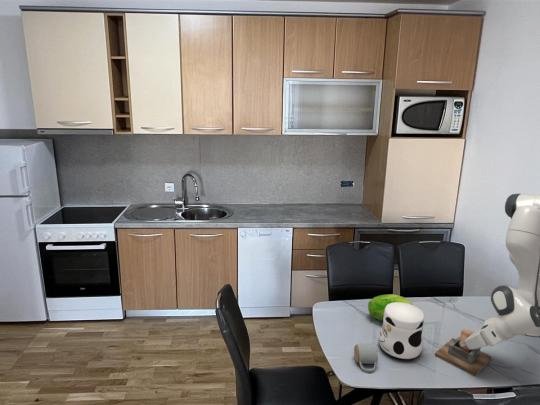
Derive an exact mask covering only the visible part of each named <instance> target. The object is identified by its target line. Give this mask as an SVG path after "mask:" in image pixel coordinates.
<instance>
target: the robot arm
mask: <svg viewBox="0 0 540 405" xmlns="http://www.w3.org/2000/svg"><path fill="white" fill-rule="evenodd" d="M504 212H505V214H506V215H507V217H509V218H510V222H509V224H508V228H507V232H506V236H505V247H506V250H507V251H508V252H509V255H508V257H509V260H510V262H511V263H512V264H513V266H514V267H515V269H516V270H517V273H518V276H519V277H518V284H517V288H514V287H510V286H507V285H498V286H497V287H495V288H494V289H493V290H492V292H491V294H490V303H491V304H492V306H493V308H494V310H495V312H496V313H497V314H498V315H495V316H492V317H489V318H487V319H486V320H485V321H484V323H483V324H481V325H480V326H479V327H478V328H477V329H476V330H474V331H472V332H473V333H472V334H471V335H470V336H469V337H468V338H467V339H466V340H463V341H461V342H460V345H461V346H462V347H464V346H467V347H468V349H471V350H473V349H477V348H484V347H488V346H489V347H494V346H496V345H498V344H499V343H502V342H505V341H507V340H512V339H513V338H515V337H516V336H523V335H527V336H530V337H540V194H525V193H524V194H521V193H513V194H510V195H509V196H508V197H507V198H506V201H505V202H504Z"/></svg>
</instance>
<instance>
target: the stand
mask: <svg viewBox="0 0 540 405" xmlns="http://www.w3.org/2000/svg"><path fill="white" fill-rule="evenodd" d="M459 342H460V336H457V338H456V339H455V338H454V337H452V338H451V339H449V341H447V342H446V343H445V344H443V346H441V347H440V348H438V350H437V351H435V353H434V356H435V357H436V358H439V359H441V360H442V361H444V362H447V363H448V364H450V365H452V366H454V367H456V368H458V369H459V370H462V371H463V372H466V373H468V374H469V375H471V376H473V377H476V376H477V375H478V374H479V373H480V372H481V371H482V369H484V368H485V367H486V365H488V364H489V363H490V361H491V360H492V355H490V354H488V353H487V352H484V351H482V350H481V348H477V349H473V350H471V352H470V353H469V352H467V351H465V350H463V349H461V348H458V347H459Z"/></svg>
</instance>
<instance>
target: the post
mask: <svg viewBox="0 0 540 405" xmlns="http://www.w3.org/2000/svg"><path fill="white" fill-rule="evenodd" d="M473 332H474V331H471V330H469V329H461V332H460V336H459V337H460V342H461V341H463V340H466V339H467V338H468V337H469V336H470V335H471V334H472V333H473ZM460 342H459V347H458V348H461V349H463V350H465V351H467V352H469V353H470V352H471V349H468V347H467V346H464V347H462V346H461V345H460Z"/></svg>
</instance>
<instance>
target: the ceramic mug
mask: <svg viewBox="0 0 540 405" xmlns="http://www.w3.org/2000/svg"><path fill="white" fill-rule="evenodd" d="M378 352H379V351H378V347H377V345H376V343H374V342H370V343H368V342H367V343H356V344H355V345H354V347H353V354H354V360H355V362H356V363H357V364H359V366H360V368H361V370H362V371H364V372H366V373H372V372H374V371H375V369H376V367H377V366H376V365H378V363H379V362H378V361H379V353H378ZM365 364H366V365H367V364H368V365H373V367H372V368H371V369H367V368H365V367H364V365H365Z"/></svg>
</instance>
